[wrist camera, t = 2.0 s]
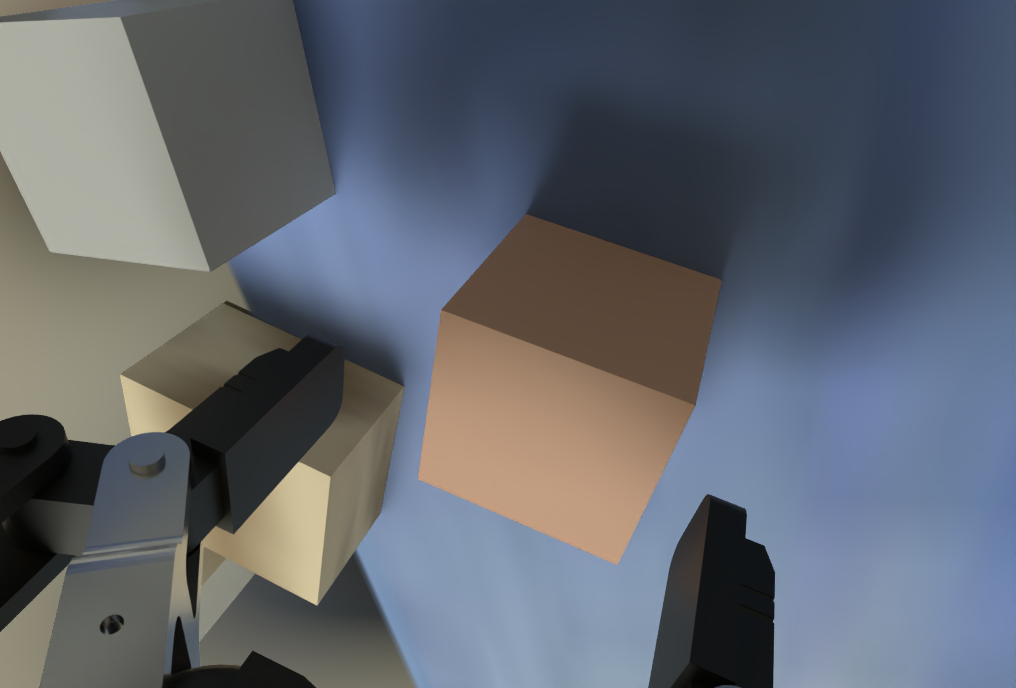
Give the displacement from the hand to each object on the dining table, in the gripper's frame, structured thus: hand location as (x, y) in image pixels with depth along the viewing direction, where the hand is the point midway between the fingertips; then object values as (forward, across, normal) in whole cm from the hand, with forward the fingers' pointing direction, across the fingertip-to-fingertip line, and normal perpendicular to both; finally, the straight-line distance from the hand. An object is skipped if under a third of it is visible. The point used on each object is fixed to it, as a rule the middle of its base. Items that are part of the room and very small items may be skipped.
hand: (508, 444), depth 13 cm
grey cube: (+5, +10, -3) cm, 12 cm away
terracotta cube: (+5, -1, 0) cm, 5 cm away
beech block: (+6, +8, +8) cm, 13 cm away
